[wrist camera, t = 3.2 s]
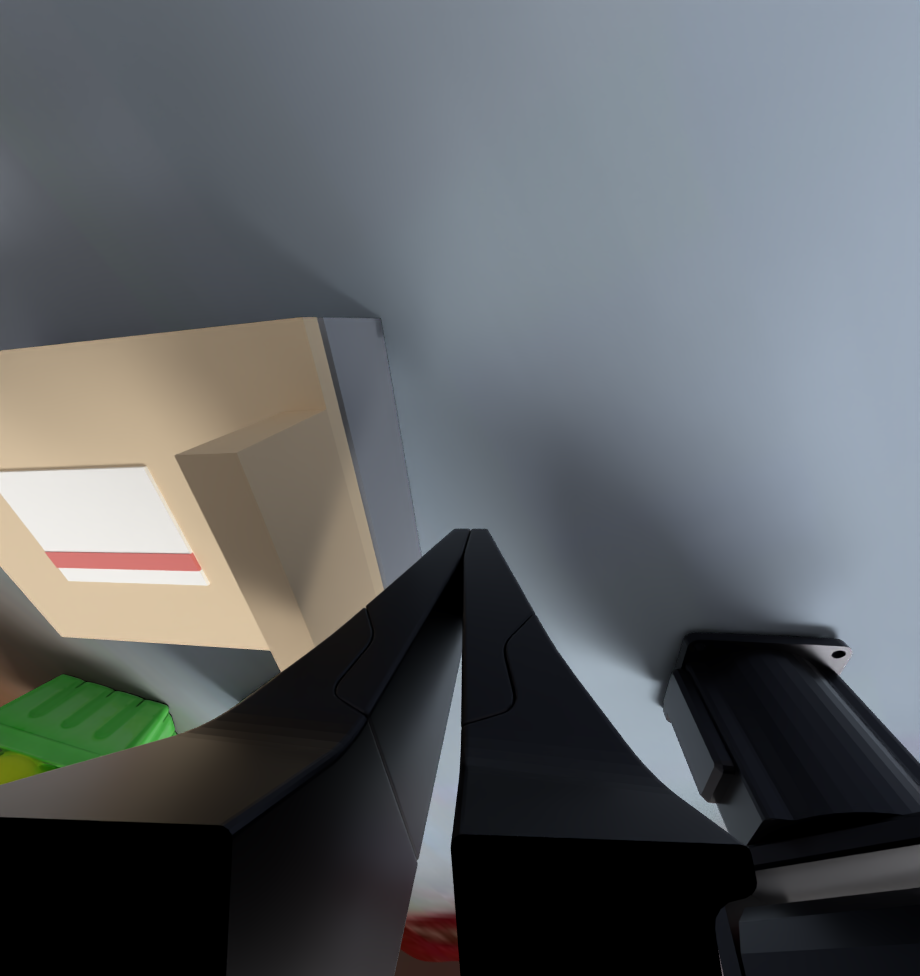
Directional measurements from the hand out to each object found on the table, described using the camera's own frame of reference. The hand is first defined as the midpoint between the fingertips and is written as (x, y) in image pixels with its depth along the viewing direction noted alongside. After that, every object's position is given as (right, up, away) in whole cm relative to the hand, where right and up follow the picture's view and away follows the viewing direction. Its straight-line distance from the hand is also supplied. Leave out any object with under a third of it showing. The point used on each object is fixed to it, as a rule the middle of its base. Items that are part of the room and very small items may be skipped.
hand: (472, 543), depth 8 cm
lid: (-11, 0, +3) cm, 11 cm away
